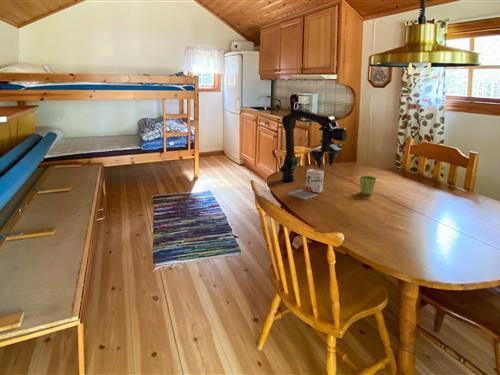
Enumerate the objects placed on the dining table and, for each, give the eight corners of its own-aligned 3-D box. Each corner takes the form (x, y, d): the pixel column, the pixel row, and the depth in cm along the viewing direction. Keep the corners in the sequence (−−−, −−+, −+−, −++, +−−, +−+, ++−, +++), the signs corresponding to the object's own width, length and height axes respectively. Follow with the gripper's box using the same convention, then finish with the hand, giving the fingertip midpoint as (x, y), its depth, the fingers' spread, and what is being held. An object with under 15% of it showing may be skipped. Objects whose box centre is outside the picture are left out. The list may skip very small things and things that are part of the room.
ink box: (305, 190, 204) (306, 170, 201) (308, 188, 208) (309, 168, 205) (320, 193, 200) (321, 172, 197) (322, 190, 204) (324, 170, 201)
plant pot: (353, 192, 201) (355, 177, 198) (364, 189, 206) (365, 174, 204) (368, 197, 194) (369, 181, 191) (378, 193, 199) (380, 178, 196)
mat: (287, 193, 200) (287, 193, 200) (301, 189, 207) (301, 189, 207) (304, 199, 191) (304, 199, 191) (318, 195, 197) (318, 195, 197)
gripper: (326, 143, 188) (324, 172, 193) (349, 139, 199) (347, 166, 204) (310, 140, 197) (309, 168, 202) (333, 136, 207) (331, 162, 212)
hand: (325, 166), depth 205 cm, fingers open, 9 cm apart
